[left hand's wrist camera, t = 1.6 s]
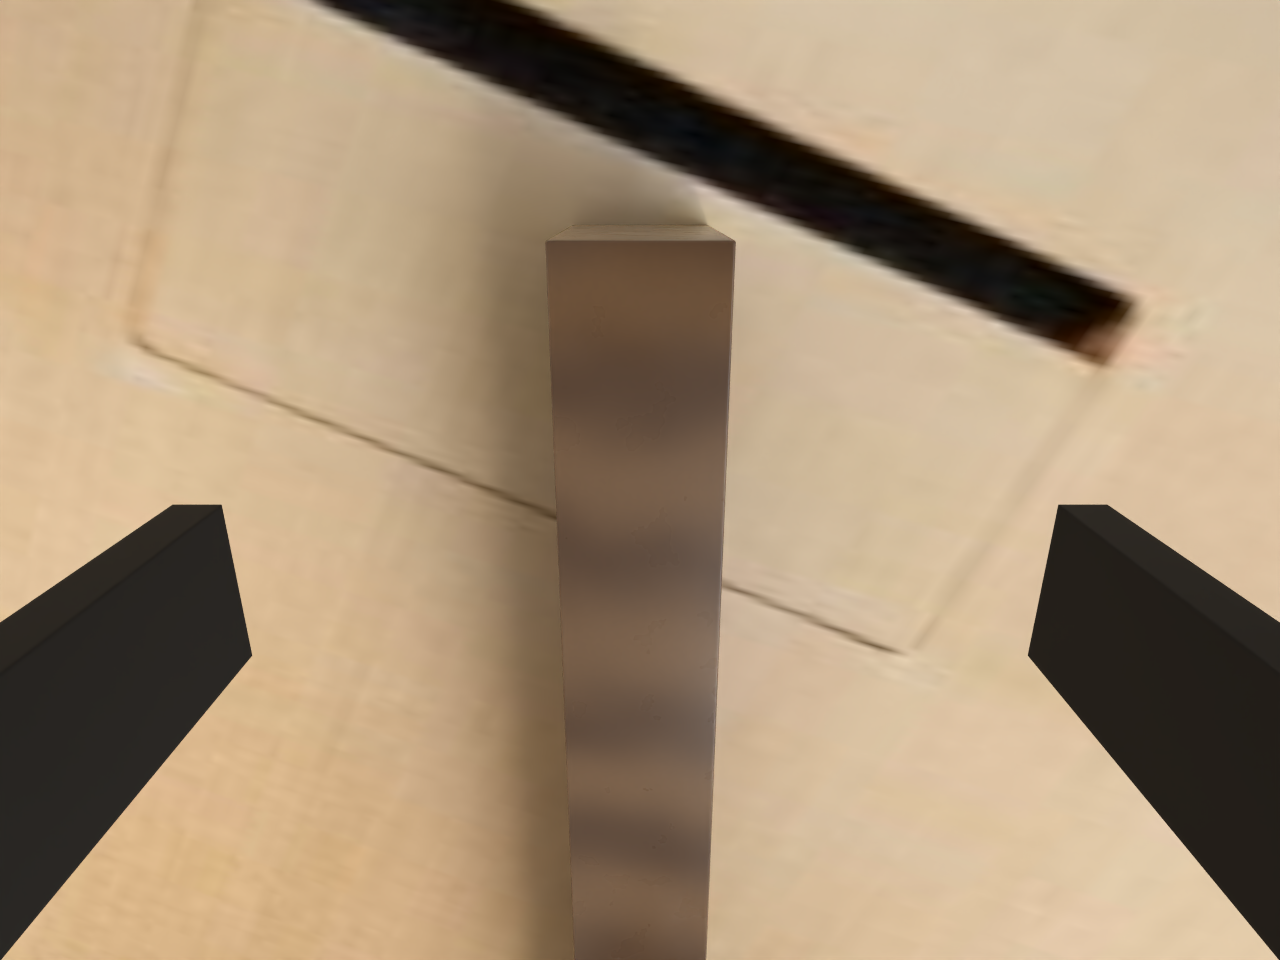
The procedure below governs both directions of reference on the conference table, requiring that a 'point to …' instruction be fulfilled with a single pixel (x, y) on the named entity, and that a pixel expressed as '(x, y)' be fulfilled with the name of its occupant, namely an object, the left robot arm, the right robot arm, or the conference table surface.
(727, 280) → the beam
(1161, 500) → the conference table surface
